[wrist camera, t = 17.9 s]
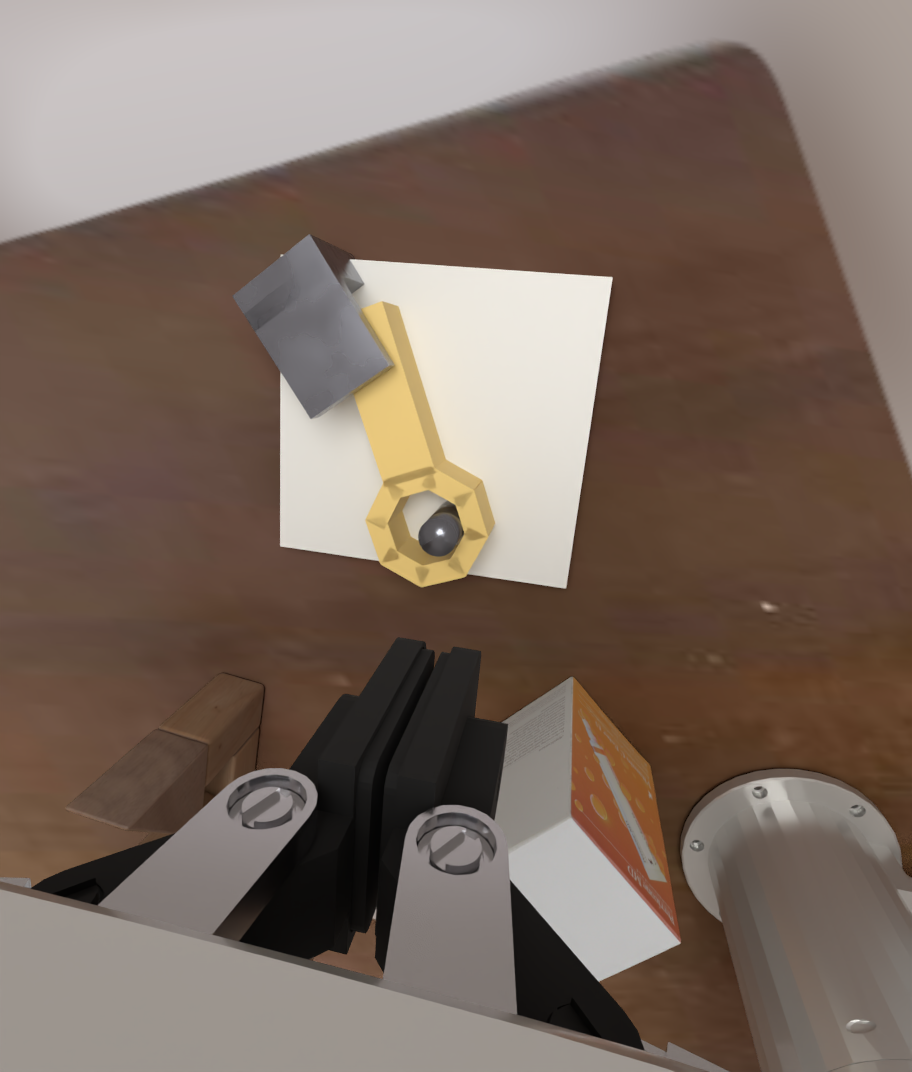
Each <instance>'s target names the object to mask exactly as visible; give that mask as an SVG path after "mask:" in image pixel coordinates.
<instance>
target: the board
mask: <svg viewBox="0 0 912 1072" xmlns="http://www.w3.org/2000/svg"><path fill="white" fill-rule="evenodd" d="M282 256H283V255H281V257H282ZM350 261H351V262H352V264H353V266H354V267H355V269H356V271H357V272H358V274H359V276H360V277H361V279H362V281H363V282H364V285H363V286H361V287H360V288H359V289H357V290H356V291H355V292H353V293H352V295H353V297H354V298H355V300H356V302H357V303H358V305H359V307H360V308H361V309H362V308H365V307H367V306H370V305H373V304H375V303H378V302H381V301H383V302H387V303H390V304H393V305H396V306H399V309H400V313H401V316H402V319H403V322H404V325H405V329H406V332H407V335H408V338H409V342H410V345H411V348H412V351H413V355H414V358H415V361H416V364H417V367H418V371H419V374H420V377H421V380H422V384H423V387H424V390H425V393H426V397H427V400H428V403H429V406H430V409H431V413H432V416H433V419H434V422H435V426H436V429H437V432H438V435H439V439H440V442H441V445H442V448H443V451H444V455H445V458H446V460H448V461H449V462H451V463H453V464H455V465H457V466H458V467H460V468H462V469H464V470H466V471H467V472H469V473H471V474H473V475H474V476H476V477H478V478H480V479H482V480H483V484H484V487H485V490H486V494H487V497H488V500H489V504H490V507H491V510H492V514H493V517H494V520H495V525H494V527H493V529H492V531H491V533H490V535H489V537H488V539H487V540H486V542H485V544H484V546H483V547H482V549H481V551H480V553H479V554H478V556H477V558H476V560H475V561H474V563H473V565H472V567H471V568H470V570H469V572H468V574H471V575H478V576H484V577H491V578H498V579H505V580H511V581H518V582H525V583H532V584H538V585H545V586H552V587H559V588H565V589H566V586H567V579H568V572H569V566H570V559H571V552H572V546H573V539H574V532H575V526H576V519H577V512H578V505H579V499H580V492H581V485H582V479H583V472H584V465H585V459H586V452H587V445H588V439H589V432H590V425H591V419H592V412H593V405H594V398H595V392H596V385H597V378H598V372H599V365H600V358H601V352H602V345H603V338H604V332H605V325H606V318H607V312H608V305H609V298H610V292H611V285H612V278H613V277H600V276H585V275H571V274H556V273H542V272H527V271H513V270H498V269H484V268H469V267H455V266H440V265H426V264H411V263H396V262H382V261H367V260H353V259H350ZM382 484H383V481H382V478H381V475H380V472H379V469H378V466H377V463H376V460H375V457H374V454H373V451H372V448H371V445H370V442H369V439H368V436H367V433H366V430H365V427H364V425H363V422H362V419H361V416H360V413H359V410H358V407H357V404H356V401H355V398H354V395H353V394H352V395H351V396H349V397H348V398H346V399H345V400H343V401H342V402H341V403H339V404H338V405H336V406H335V407H333V408H332V409H330V410H329V411H327V412H326V413H324V414H323V415H321V416H320V417H318V418H314V419H310V417H309V416H308V414H307V413H306V411H305V409H304V408H303V406H302V405H301V403H300V402H299V400H298V398H297V397H296V395H295V394H294V392H293V391H292V389H291V387H290V386H289V384H288V383H287V381H286V380H285V378H284V376H283V375H282V373H281V405H280V546H282V547H289V548H295V549H302V550H309V551H316V552H322V553H329V554H336V555H343V556H349V557H356V558H363V559H370V560H376V561H379V559H378V556H377V553H376V550H375V547H374V545H373V542H372V539H371V536H370V533H369V530H368V527H367V524H366V521H365V519H366V517H367V515H368V513H369V511H370V509H371V507H372V505H373V503H374V501H375V499H376V497H377V494H378V492H379V490H380V488H381V486H382ZM446 501H447V500H446V499H444V498H442V497H440V496H439V495H437V494H435V493H433V492H432V491H430V490H426V491H423V492H419V493H416V494H412V495H410V496H409V498H408V500H407V502H406V504H405V506H404V508H403V510H402V511H403V514H404V517H405V520H406V523H407V526H408V529H409V532H410V535H411V537H413V538H414V539H416V540H418V534H419V530H420V528H421V526H422V525H423V524H424V523H425V522H426V521H427V520H428V519H429V518H430V517H431V516H432V515H433V513H434V512H435V511H436V510H437V509H438V508H439V507H440V506H441V505H442V504H443V503H444V502H446ZM463 536H464V533H463V535H462V536H461V538H460V539H459V541H458V542H457V544H459V543H460V541H461V539H462V538H463ZM418 541H419V540H418ZM457 544H456V545H457Z"/></svg>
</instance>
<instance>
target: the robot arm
mask: <svg viewBox="0 0 912 1072" xmlns="http://www.w3.org/2000/svg"><path fill="white" fill-rule="evenodd" d="M434 658H435V652H434V651H433V650H427V649H426V643H425V642H423V641H417V640H411V639H405V638H399V637H398V638H397V639H396V640H395V642H394V643H393V645H392V646H391V648H390V650H389V651H388V653H387V654H386V656H385V657H384V659H383V660H382V662H381V663H380V665H379V666H378V668H377V670H376V671H375V673H374V674H373V676H372V677H371V679H370V680H369V682H368V683H367V685H366V687H365V688H364V690H363V691H362V693H361V694H360V696H355V695H349V694H343V695H342V696H341V697H340V698H339V699H338V701H337V702H336V704H335V705H334V707H333V708H332V709H331V711H330V712H329V714H328V715H327V717H326V718H325V719H324V721H323V722H322V724H321V725H320V726H319V728H318V729H317V731H316V732H315V734H314V735H313V736H312V738H311V739H310V741H309V742H308V744H307V745H306V746H305V748H304V749H303V751H302V752H301V754H300V755H299V756H298V758H297V759H296V761H295V762H294V763H293V765H292V766H291V768H290V769H289V770H288V769H283V768H268V769H263V770H258V771H253V772H250V773H248V774H246V775H243V776H241V777H239V778H237V779H236V780H234V781H233V782H232V783H230V784H229V785H227V786H226V787H225V788H224V789H223V790H222V791H221V792H220V793H219V794H218V795H216V796H215V797H214V798H213V799H212V800H211V801H210V802H209V803H208V804H207V805H206V806H205V807H203V808H202V809H201V810H200V811H199V812H198V813H197V814H196V815H195V816H194V817H193V818H192V819H190V820H189V821H188V822H187V823H186V824H185V825H184V826H183V827H182V828H181V829H180V830H179V831H177V832H176V833H174V834H171V835H168V836H165V837H162V838H159V839H156V840H153V841H150V842H147V843H144V844H141V845H138V846H135V847H132V848H129V849H126V850H124V851H121V852H118V853H115V854H112V855H109V856H106V857H103V858H100V859H97V860H94V861H91V862H88V863H85V864H82V865H79V866H77V867H74V868H71V869H68V870H65V871H62V872H60V873H58V874H55V875H53V876H51V877H49V878H46V879H44V880H43V881H41V882H40V883H38V884H37V885H35V886H34V887H32V888H31V882H30V878H0V1072H729V1071H727V1070H725V1069H723V1068H721V1067H719V1066H717V1065H715V1064H713V1063H711V1062H709V1061H707V1060H705V1059H703V1058H701V1057H699V1056H697V1055H694V1054H692V1053H690V1052H688V1051H686V1050H684V1049H682V1048H680V1047H678V1046H676V1045H674V1044H672V1043H670V1042H668V1044H667V1048H666V1052H665V1051H663V1050H661V1049H659V1048H657V1047H655V1046H653V1045H651V1044H649V1043H647V1042H645V1041H643V1040H641V1039H640V1036H639V1033H638V1031H637V1029H636V1028H635V1026H634V1025H633V1023H632V1022H631V1020H630V1019H629V1018H628V1016H627V1015H626V1013H625V1012H624V1011H623V1009H622V1008H621V1007H620V1006H619V1005H618V1004H617V1002H616V1001H615V1000H614V999H613V998H612V997H611V996H610V994H609V993H608V992H607V991H606V990H605V989H604V987H603V986H602V985H601V984H600V983H599V982H598V980H597V979H596V978H595V977H594V976H593V975H592V974H591V972H590V971H589V970H588V969H587V968H586V967H585V965H584V964H583V963H582V962H581V961H580V960H579V959H578V957H577V956H576V955H575V954H574V953H573V952H572V950H571V949H570V948H569V947H568V946H567V945H566V944H565V942H564V941H563V940H562V939H561V938H560V937H559V935H558V934H557V933H556V932H555V931H554V930H553V929H552V927H551V926H550V925H549V924H548V923H547V922H546V920H545V919H544V918H543V917H542V916H541V915H540V914H539V912H538V911H537V910H536V909H535V908H534V907H533V905H532V904H531V903H530V902H529V901H528V900H527V899H526V897H525V896H524V895H523V894H522V893H521V892H520V890H519V889H518V888H517V887H516V886H515V885H514V883H513V882H512V881H511V880H510V875H509V857H508V845H507V841H506V837H505V834H504V833H503V831H502V830H501V828H500V827H499V825H498V824H497V823H496V822H495V821H494V820H495V815H496V809H497V803H498V797H499V791H500V784H501V778H502V771H503V763H504V756H505V748H506V740H507V732H508V724H506V723H501V722H495V721H490V720H484V719H479V718H474V716H475V707H476V698H477V689H478V680H479V671H480V661H481V651H477V650H471V649H465V648H459V647H453V648H452V651H451V653H445V652H442V653H441V654H440V656H439V659H438V661H437V663H436V665H435V667H434ZM680 854H681V860H682V865H683V870H684V873H685V877H686V880H687V883H688V885H689V887H690V889H691V890H692V892H693V894H694V896H695V897H696V899H697V900H698V901H699V902H700V903H701V904H702V905H703V907H704V908H705V909H706V910H707V911H708V912H709V913H710V914H712V915H713V916H714V917H715V918H716V919H718V920H719V921H721V922H722V923H723V927H724V931H725V934H726V938H727V942H728V946H729V950H730V954H731V958H732V961H733V965H734V969H735V973H736V977H737V981H738V985H739V988H740V992H741V996H742V1000H743V1004H744V1008H745V1012H746V1015H747V1019H748V1023H749V1027H750V1031H751V1035H752V1038H753V1042H754V1046H755V1050H756V1054H757V1058H758V1062H759V1065H760V1069H761V1072H912V878H911V877H910V876H908V875H906V873H905V872H904V870H903V869H902V859H901V849H900V846H899V844H898V841H897V838H896V835H895V833H894V831H893V830H892V828H891V827H890V825H889V823H888V822H887V820H886V819H885V817H884V816H883V814H882V813H881V812H880V811H879V810H878V808H877V807H876V806H875V805H874V803H873V802H872V801H870V800H869V799H868V798H867V797H865V796H864V795H863V794H862V793H861V792H859V791H858V790H857V789H855V788H853V787H851V786H849V785H848V784H846V783H844V782H842V781H840V780H838V779H835V778H832V777H829V776H827V775H824V774H821V773H816V772H811V771H805V770H800V769H770V770H762V771H755V772H752V773H748V774H745V775H741V776H738V777H735V778H733V779H731V780H729V781H727V782H725V783H723V784H721V785H719V786H718V787H716V788H715V789H714V790H712V791H711V792H709V793H708V794H707V795H705V796H704V797H703V798H702V799H701V801H700V802H699V803H698V804H697V805H696V806H695V807H694V808H693V810H692V812H691V813H690V815H689V817H688V818H687V820H686V822H685V825H684V828H683V831H682V835H681V845H680ZM376 907H377V908H376ZM375 910H376V924H375V935H376V951H375V958H376V960H377V962H378V964H379V966H380V967H381V969H382V971H383V973H384V976H383V979H380V978H376V977H373V976H369V975H365V974H361V973H358V972H354V971H350V970H346V969H342V968H338V967H335V966H331V965H327V964H323V963H319V962H315V961H313V958H314V957H315V956H317V955H319V954H321V953H323V952H325V951H327V950H331V951H335V952H339V953H342V954H346V955H347V953H348V950H349V947H350V945H351V942H352V940H353V937H354V934H355V932H356V931H357V932H361V933H366V932H367V931H368V929H369V926H370V924H371V921H372V918H373V915H374V913H375Z"/></svg>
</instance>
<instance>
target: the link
mask: <svg viewBox="0 0 912 1072" xmlns="http://www.w3.org/2000/svg"><path fill="white" fill-rule="evenodd" d="M361 310H362V312H363V313H364V315H365V317H366V318H367V320H368V322H369V323H370V325H371V327H372V328H373V330H374V331H375V333H376V335H377V336H378V338H379V340H380V341H381V343H382V345H383V346H384V348H385V350H386V351H387V353H388V355H389V356H390V358H391V360H392V361H393V363H394V365H395V366H393V367H392V368H390V369H389V370H387V371H386V372H384V373H383V374H382V375H380V376H379V377H377V378H376V379H374V380H373V381H371V382H370V383H368V384H367V385H365V386H364V387H362V388H361V389H360V390H358V391H357V392H355V393H354V394H353V395H354V398H355V401H356V404H357V407H358V410H359V413H360V416H361V419H362V422H363V425H364V427H365V430H366V433H367V436H368V439H369V442H370V445H371V448H372V451H373V454H374V457H375V460H376V463H377V466H378V469H379V472H380V475H381V478H382V481H383V484H382V486H381V488H380V490H379V492H378V494H377V497H376V499H375V501H374V503H373V505H372V507H371V509H370V511H369V513H368V515H367V517H366V519H365V521H366V524H367V527H368V530H369V533H370V536H371V539H372V542H373V545H374V547H375V550H376V553H377V556H378V559H379V562H380V564H381V565H383V566H384V567H386V568H388V569H390V570H391V571H393V572H395V573H397V574H398V575H400V576H402V577H404V578H405V579H407V580H409V581H411V582H412V583H414V584H416V585H418V586H420V587H425V586H429V585H434V584H438V583H442V582H447V581H451V580H455V579H459V578H464V577H466V575H467V574H468V572H469V570H470V568H471V567H472V565H473V563H474V561H475V560H476V558H477V556H478V554H479V553H480V551H481V549H482V547H483V546H484V544H485V542H486V540H487V539H488V537H489V535H490V533H491V531H492V529H493V527H494V525H495V520H494V517H493V514H492V510H491V507H490V504H489V500H488V497H487V494H486V490H485V487H484V484H483V480H482V479H480V478H478V477H476V476H474V475H473V474H471V473H469V472H467V471H466V470H464V469H462V468H460V467H458V466H457V465H455V464H453V463H451V462H449V461H448V460H446V458H445V455H444V451H443V448H442V445H441V442H440V439H439V435H438V432H437V429H436V426H435V422H434V419H433V416H432V413H431V409H430V406H429V403H428V400H427V397H426V393H425V390H424V387H423V384H422V380H421V377H420V374H419V371H418V367H417V364H416V361H415V358H414V355H413V351H412V348H411V345H410V342H409V338H408V335H407V332H406V329H405V325H404V322H403V319H402V316H401V313H400V309H399V306H396V305H393V304H390V303H387V302H383V301H381V302H378V303H375V304H373V305H370V306H367V307H365V308H362V309H361ZM426 490H430V491H432V492H433V493H435V494H437V495H439V496H440V497H442V498H444V499H446V500H448V501H449V502H451V503H453V504H455V505H456V508H457V511H458V514H459V518H460V521H461V524H462V527H463V531H464V536H463V538H462V539H461V541H460V543H459V544H457V545H455V547H454V548H453V550H452V551H451V552H450V553H449V554H447V555H445V556H441V557H436V556H432V555H430V554H428V553H426V552H425V551H424V550H423V549H422V547H421V546H420V544H419V541H418V540H416V539H414V538H413V537H411V535H410V532H409V529H408V526H407V523H406V520H405V517H404V514H403V511H402V510H403V508H404V506H405V504H406V502H407V500H408V498H409V496H410V495H412V494H416V493H419V492H423V491H426Z"/></svg>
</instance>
